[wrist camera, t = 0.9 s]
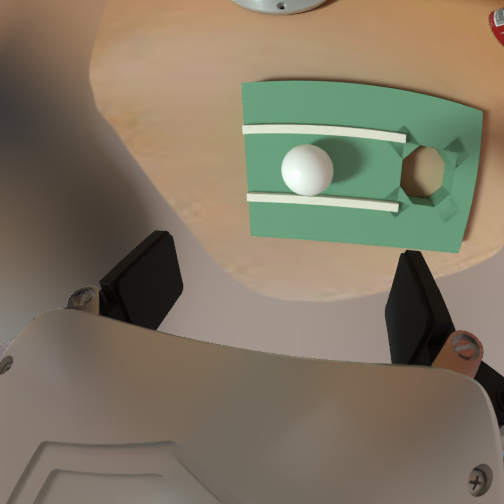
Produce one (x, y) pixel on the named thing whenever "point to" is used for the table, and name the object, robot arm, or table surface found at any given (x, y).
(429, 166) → the table surface
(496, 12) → the soda can
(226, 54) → the table surface
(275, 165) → the putting mat
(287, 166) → the ball
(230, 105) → the table surface
